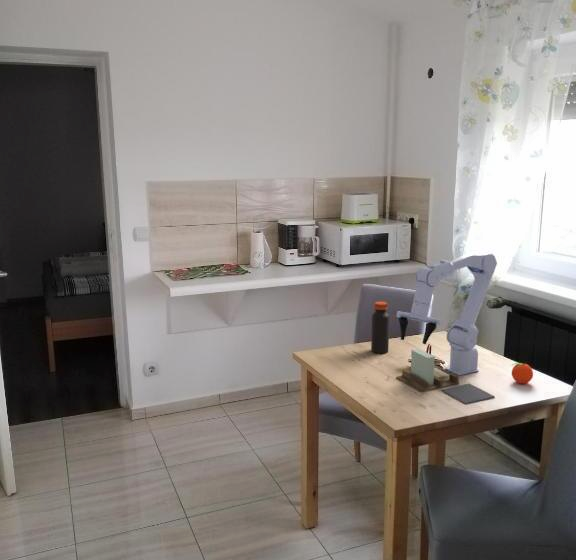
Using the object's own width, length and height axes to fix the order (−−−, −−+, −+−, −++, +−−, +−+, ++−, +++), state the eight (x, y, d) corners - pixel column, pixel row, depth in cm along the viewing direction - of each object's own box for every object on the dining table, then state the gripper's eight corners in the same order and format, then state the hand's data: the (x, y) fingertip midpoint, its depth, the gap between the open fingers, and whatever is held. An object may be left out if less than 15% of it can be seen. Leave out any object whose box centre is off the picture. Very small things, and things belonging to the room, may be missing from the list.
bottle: (380, 355, 235) (382, 306, 231) (367, 351, 240) (368, 303, 235) (391, 351, 239) (393, 303, 235) (378, 347, 244) (379, 300, 240)
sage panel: (417, 375, 212) (418, 348, 210) (433, 384, 204) (434, 356, 202) (410, 376, 211) (411, 349, 209) (426, 385, 203) (427, 357, 201)
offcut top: (435, 370, 215) (435, 367, 214) (449, 377, 208) (449, 374, 207) (423, 372, 213) (423, 369, 212) (437, 379, 206) (438, 377, 205)
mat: (469, 384, 205) (469, 383, 205) (494, 397, 195) (494, 396, 194) (441, 390, 200) (441, 389, 200) (465, 404, 190) (465, 402, 190)
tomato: (505, 383, 206) (507, 364, 204) (509, 377, 212) (511, 358, 210) (530, 388, 202) (532, 368, 200) (533, 381, 208) (535, 362, 206)
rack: (432, 370, 218) (433, 364, 218) (458, 384, 206) (458, 377, 205) (396, 378, 212) (396, 371, 211) (420, 392, 199) (420, 384, 199)
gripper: (403, 300, 198) (394, 339, 199) (445, 308, 198) (436, 348, 200) (399, 297, 205) (390, 335, 206) (440, 305, 205) (431, 343, 207)
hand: (413, 341), depth 203 cm, fingers open, 7 cm apart
